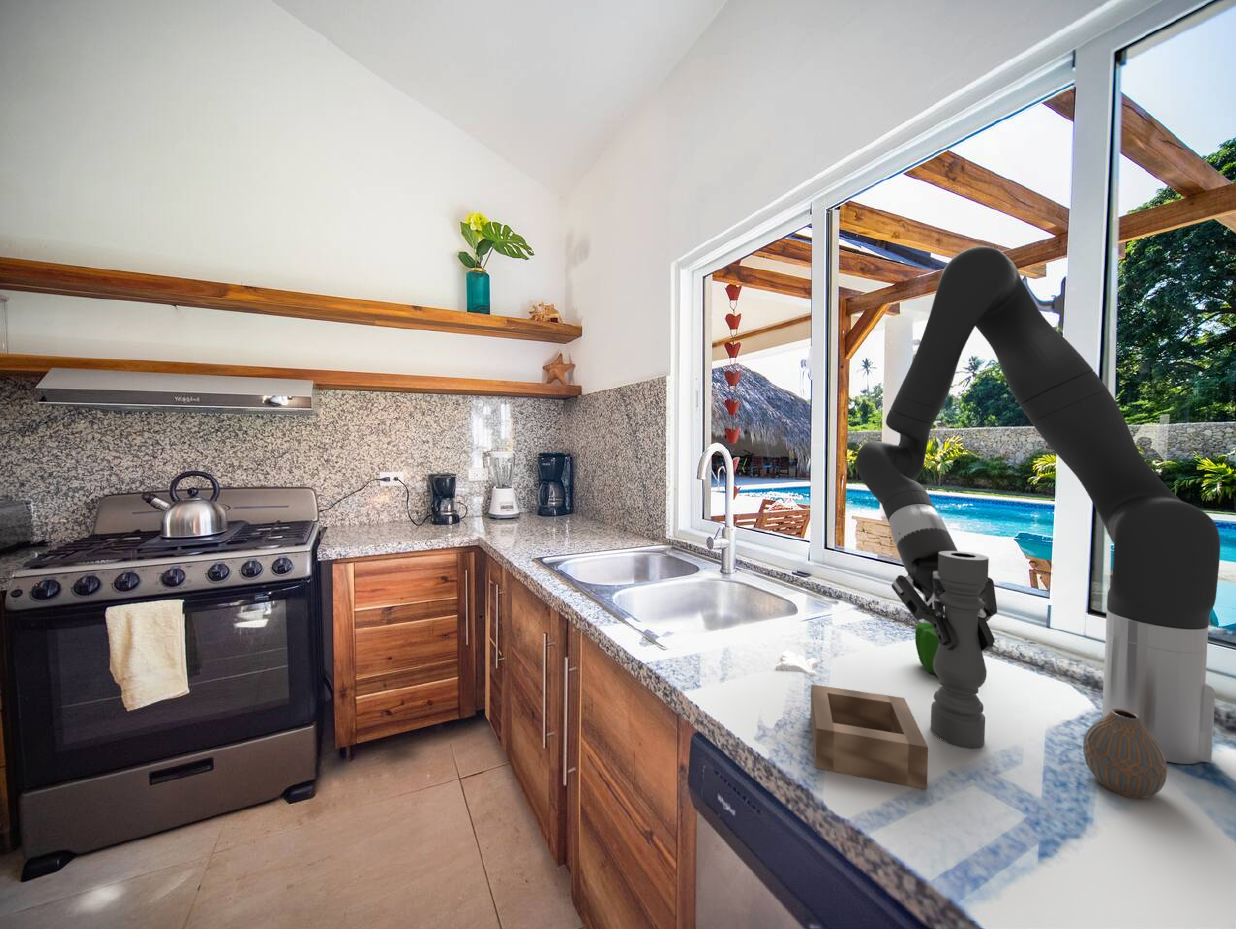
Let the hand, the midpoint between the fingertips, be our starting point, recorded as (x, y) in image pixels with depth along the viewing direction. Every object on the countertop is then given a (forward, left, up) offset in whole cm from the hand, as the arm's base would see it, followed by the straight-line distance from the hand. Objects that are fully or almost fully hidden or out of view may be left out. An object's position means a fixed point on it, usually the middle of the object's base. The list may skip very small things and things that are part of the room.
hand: (969, 647), depth 67 cm
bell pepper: (-3, -24, -13) cm, 28 cm away
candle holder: (+1, -2, -13) cm, 13 cm away
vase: (-14, +4, -13) cm, 20 cm away
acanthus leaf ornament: (+21, -18, -14) cm, 31 cm away
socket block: (+14, +6, -13) cm, 20 cm away
